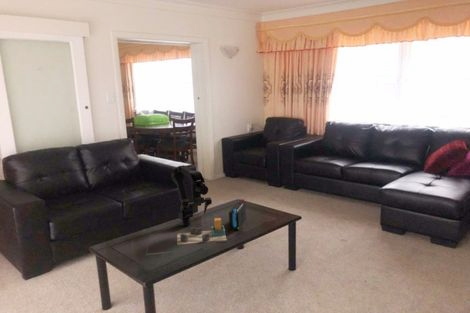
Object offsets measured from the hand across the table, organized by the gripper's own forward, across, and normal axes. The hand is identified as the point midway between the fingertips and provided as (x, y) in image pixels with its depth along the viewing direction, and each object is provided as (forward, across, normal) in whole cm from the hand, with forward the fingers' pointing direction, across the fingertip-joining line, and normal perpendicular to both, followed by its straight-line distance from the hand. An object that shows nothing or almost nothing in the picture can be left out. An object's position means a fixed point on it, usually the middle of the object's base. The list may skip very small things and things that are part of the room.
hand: (197, 214), depth 237 cm
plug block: (+11, +12, -7) cm, 18 cm away
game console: (+13, +28, +8) cm, 32 cm away
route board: (+12, +1, -9) cm, 15 cm away
